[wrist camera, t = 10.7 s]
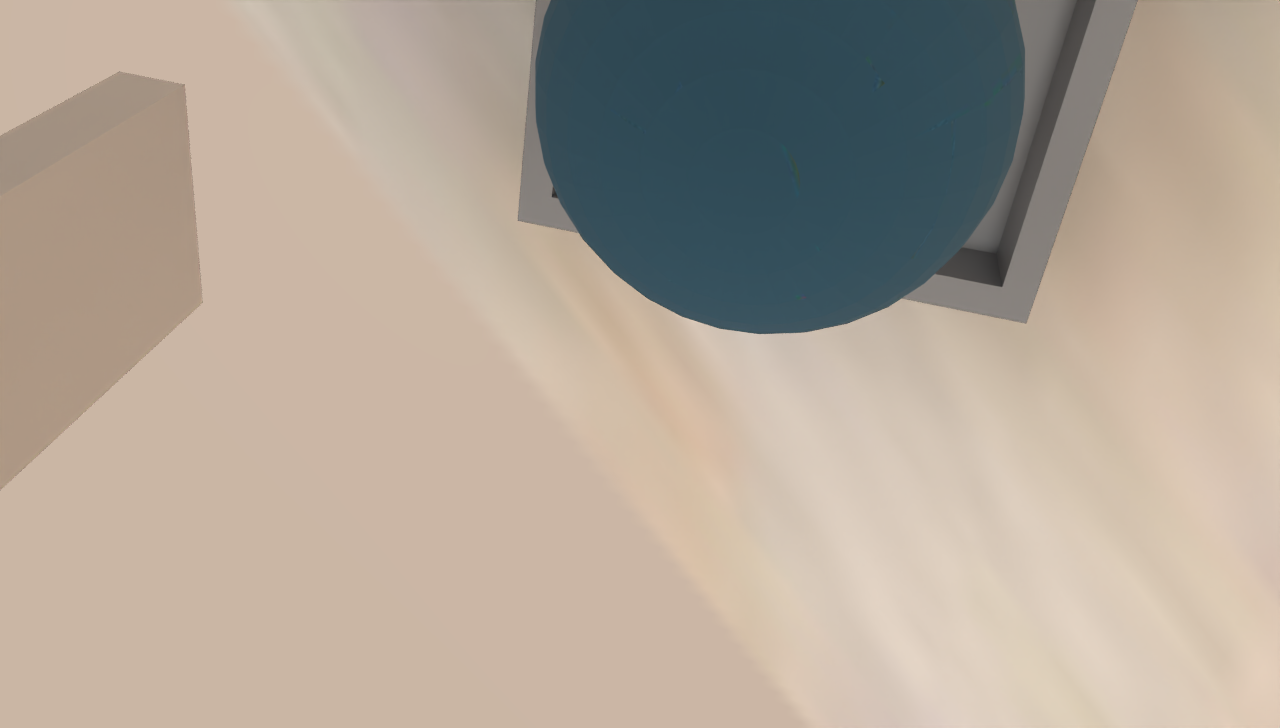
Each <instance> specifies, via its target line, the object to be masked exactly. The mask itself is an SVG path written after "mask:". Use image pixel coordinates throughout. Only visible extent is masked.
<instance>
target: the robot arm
mask: <svg viewBox="0 0 1280 728" xmlns="http://www.w3.org/2000/svg"><path fill="white" fill-rule="evenodd" d="M201 303H203V301H202V289H201V276H200V264H199V253H198V241H197V228H196V215H195V203H194V192H193V179H192V167H191V155H190V143H189V131H188V119H187V106H186V95H185V85H184V84H179V83H174V82H169V81H164V80H159V79H154V78H149V77H144V76H139V75H134V74H129V73H123V72H118V73H116V74H114V75H112V76H110V77H109V78H107V79H105V80H103V81H101V82H99V83H97V84H96V85H94V86H92V87H90V88H88V89H86V90H84V91H83V92H81V93H79V94H77V95H75V96H73V97H72V98H70V99H68V100H66V101H64V102H62V103H60V104H58V105H57V106H55V107H53V108H51V109H49V110H47V111H45V112H43V113H42V114H40V115H38V116H36V117H34V118H32V119H31V120H29V121H27V122H25V123H23V124H21V125H19V126H17V127H16V128H14V129H12V130H10V131H8V132H7V133H4V134H3V135H1V136H0V490H1V489H2V488H3V487H4V486H5V485H7V483H9V482H10V481H11V480H12V479H13V478H14V477H15V476H16V475H17V474H18V473H19V472H21V471H22V470H23V469H24V468H25V467H26V466H27V465H28V464H29V463H30V462H31V461H32V460H33V459H35V458H36V457H37V456H38V455H39V454H40V453H41V452H42V451H43V450H44V449H45V448H46V447H48V445H50V444H51V443H52V442H53V441H54V440H55V439H56V438H57V437H58V436H59V435H60V434H62V433H63V432H64V431H65V430H66V429H67V428H68V427H69V426H70V425H71V424H72V423H73V422H74V421H76V420H77V419H78V418H79V417H80V416H81V415H82V414H83V413H84V412H85V411H86V410H87V409H88V408H89V407H91V406H92V405H93V404H94V403H95V402H96V401H97V400H98V399H99V398H100V397H101V396H103V395H104V394H105V393H106V392H107V391H108V390H109V389H110V388H111V387H112V386H113V385H114V384H115V383H117V382H118V380H120V379H121V378H122V377H123V376H124V375H125V374H126V373H127V372H128V371H129V370H131V369H132V368H133V367H134V366H135V365H136V364H137V363H138V362H139V361H140V360H141V359H142V358H143V357H145V356H146V355H147V354H148V353H149V352H150V351H151V350H152V349H153V348H154V347H155V346H156V345H158V344H159V343H160V342H161V341H162V340H163V339H164V338H165V337H166V336H167V335H168V334H169V333H170V332H172V331H173V330H174V329H175V328H176V327H177V326H178V325H179V324H180V323H181V322H182V321H183V320H184V319H186V318H187V317H188V316H189V315H190V314H191V313H192V312H193V311H194V310H195V309H196V308H197V307H199V306H200V304H201Z"/></svg>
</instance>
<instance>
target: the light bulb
mask: <svg viewBox="0 0 1280 728" xmlns="http://www.w3.org/2000/svg"><path fill="white" fill-rule="evenodd" d="M1024 101H1025V46H1024V42H1023V37H1022V32H1021V27H1020V22H1019V17H1018V13H1017V8H1016V3H1015V0H551V1H550V4H549V6H548V8H547V11H546V13H545V16H544V20H543V25H542V30H541V35H540V40H539V45H538V50H537V55H536V61H535V109H536V124H537V129H538V134H539V139H540V144H541V149H542V155H543V160H544V164H545V167H546V169H547V172H548V174H549V177H550V179H551V182H552V184H553V187H554V189H555V192H556V194H557V197H558V199H559V202H560V204H561V205H562V207H563V209H564V210H565V212H566V213H567V215H568V216H569V218H570V220H571V221H572V223H573V224H574V226H575V227H576V229H577V231H578V232H579V234H580V235H581V237H582V239H583V240H584V241H585V242H586V243H587V244H588V245H589V246H590V247H591V248H592V250H593V251H594V252H595V253H596V254H597V255H598V256H599V257H600V258H601V259H602V260H603V262H604V263H605V264H606V265H607V266H608V267H609V268H610V269H611V270H612V271H613V272H614V273H615V274H616V275H618V276H619V277H620V278H621V279H623V280H624V281H625V282H627V283H628V284H629V285H631V286H632V287H633V288H635V289H636V290H637V291H638V292H640V293H641V294H642V295H644V296H645V297H646V298H648V299H650V300H652V301H653V302H655V303H657V304H659V305H661V306H663V307H665V308H667V309H669V310H671V311H673V312H675V313H676V314H678V315H680V316H682V317H685V318H688V319H692V320H695V321H698V322H701V323H704V324H707V325H710V326H713V327H717V328H720V329H727V330H734V331H741V332H748V333H755V334H773V333H801V332H809V331H814V330H819V329H823V328H828V327H833V326H838V325H842V324H847V323H850V322H852V321H855V320H857V319H860V318H862V317H865V316H867V315H870V314H872V313H874V312H877V311H879V310H882V309H884V308H887V307H889V306H890V305H892V304H893V303H895V302H897V301H898V300H900V299H901V298H903V297H904V296H906V295H907V294H909V293H911V292H912V291H914V290H915V289H917V288H918V287H920V286H922V285H923V284H925V283H926V282H927V281H928V280H929V279H930V278H931V277H932V276H933V275H934V274H935V273H936V272H937V271H938V270H939V269H940V268H941V267H943V266H944V265H945V264H946V263H947V262H948V261H949V260H950V259H951V258H952V257H953V256H954V255H955V254H956V253H957V252H958V251H959V250H960V249H961V248H962V246H963V245H964V244H965V243H966V242H967V241H968V239H969V238H970V236H971V235H972V233H973V232H974V231H975V229H976V228H977V226H978V225H979V224H980V222H981V221H982V219H983V218H984V217H985V215H986V214H987V212H988V211H989V210H990V208H991V207H992V205H993V204H994V202H995V200H996V197H997V195H998V193H999V191H1000V188H1001V186H1002V184H1003V182H1004V179H1005V177H1006V175H1007V173H1008V170H1009V168H1010V166H1011V164H1012V161H1013V158H1014V153H1015V148H1016V144H1017V139H1018V135H1019V130H1020V126H1021V121H1022V116H1023V110H1024Z"/></svg>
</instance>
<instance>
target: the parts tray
mask: <svg viewBox="0 0 1280 728" xmlns="http://www.w3.org/2000/svg"><path fill="white" fill-rule="evenodd" d="M550 1H551V0H536V8H535V20H534V32H533V44H532V56H531V68H530V80H529V92H528V104H527V116H526V128H525V140H524V151H523V163H522V175H521V187H520V199H519V211H518V221H522V222H527V223H532V224H537V225H542V226H547V227H552V228H557V229H562V230H567V231H571V232H576V233H579V232H578V231H577V229H576V227H575V226H574V224H573V223H572V221H571V220H570V218H569V216H568V215H567V213H566V212H565V210H564V209H563V207H562V205H561V204H560V202H559V199H558V197H557V194H556V192H555V189H554V187H553V184H552V182H551V179H550V177H549V174H548V172H547V169H546V167H545V164H544V160H543V155H542V149H541V144H540V139H539V134H538V129H537V124H536V109H535V61H536V55H537V50H538V45H539V40H540V35H541V30H542V25H543V20H544V16H545V13H546V11H547V8H548V6H549V4H550ZM1137 1H1138V0H1015V3H1016V8H1017V13H1018V17H1019V22H1020V27H1021V32H1022V37H1023V42H1024V46H1025V101H1024V110H1023V116H1022V121H1021V126H1020V130H1019V135H1018V139H1017V144H1016V148H1015V153H1014V158H1013V161H1012V164H1011V166H1010V168H1009V170H1008V173H1007V175H1006V177H1005V179H1004V182H1003V184H1002V186H1001V188H1000V191H999V193H998V195H997V197H996V200H995V202H994V204H993V205H992V207H991V208H990V210H989V211H988V212H987V214H986V215H985V217H984V218H983V219H982V221H981V222H980V224H979V225H978V226H977V228H976V229H975V231H974V232H973V233H972V235H971V236H970V238H969V239H968V241H967V242H966V243H965V244H964V245H963V246H962V248H961V249H960V250H959V251H958V252H957V253H956V254H955V255H954V256H953V257H952V258H951V259H950V260H949V261H948V262H947V263H946V264H945V265H944V266H943V267H941V268H940V269H939V270H938V271H937V272H936V273H935V274H934V275H933V276H932V277H931V278H930V279H929V280H928V281H927V282H926V283H925V284H923V285H922V286H920V287H918V288H917V289H915V290H914V291H912V292H911V293H909V294H907V295H906V296H904V297H903V299H907V300H912V301H917V302H922V303H927V304H932V305H937V306H942V307H947V308H952V309H957V310H962V311H967V312H972V313H977V314H982V315H987V316H991V317H996V318H1001V319H1006V320H1011V321H1016V322H1021V323H1027V320H1028V317H1029V314H1030V311H1031V308H1032V305H1033V302H1034V300H1035V297H1036V294H1037V291H1038V288H1039V285H1040V282H1041V279H1042V276H1043V273H1044V271H1045V268H1046V265H1047V262H1048V259H1049V256H1050V253H1051V250H1052V247H1053V244H1054V242H1055V239H1056V236H1057V233H1058V230H1059V227H1060V224H1061V221H1062V218H1063V215H1064V213H1065V210H1066V207H1067V204H1068V201H1069V198H1070V195H1071V192H1072V189H1073V186H1074V184H1075V181H1076V178H1077V175H1078V172H1079V169H1080V166H1081V163H1082V160H1083V157H1084V155H1085V152H1086V149H1087V146H1088V143H1089V140H1090V137H1091V134H1092V131H1093V128H1094V126H1095V123H1096V120H1097V117H1098V114H1099V111H1100V108H1101V105H1102V102H1103V99H1104V97H1105V94H1106V91H1107V88H1108V85H1109V82H1110V79H1111V76H1112V73H1113V71H1114V68H1115V65H1116V62H1117V59H1118V56H1119V53H1120V50H1121V47H1122V44H1123V42H1124V39H1125V36H1126V33H1127V30H1128V27H1129V24H1130V21H1131V18H1132V15H1133V13H1134V10H1135V7H1136V4H1137Z"/></svg>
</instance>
